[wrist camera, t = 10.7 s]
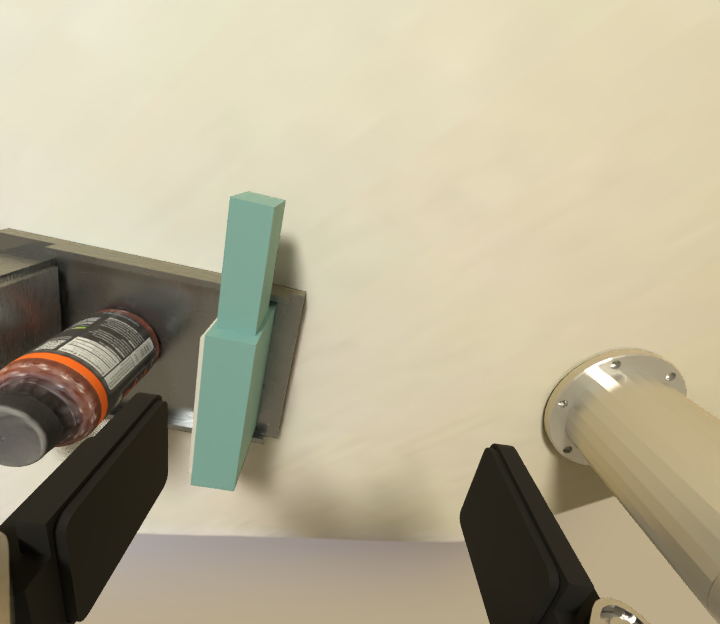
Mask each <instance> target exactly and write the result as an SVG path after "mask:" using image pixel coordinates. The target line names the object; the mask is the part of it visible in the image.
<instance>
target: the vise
mask: <svg viewBox="0 0 720 624" xmlns="http://www.w3.org/2000/svg"><path fill="white" fill-rule="evenodd" d="M221 278H222V274H221V273H216V272H212V271H207V270H202V269H198V268H193V267H188V266H184V265H179V264H174V263H170V262H165V261H160V260H155V259H151V258H146V257H141V256H137V255H132V254H127V253H123V252H118V251H113V250H109V249H104V248H99V247H94V246H90V245H85V244H80V243H76V242H71V241H66V240H62V239H57V238H52V237H48V236H43V235H38V234H33V233H29V232H24V231H19V230H15V229H10V228H8V229H3V230H0V370H1V369H3V368H4V367H5V366H7V365H8V364H10V363H11V362H13V361H14V360H16V359H18V358H19V357H21V356H22V355H24V354H26V353H28V352H29V351H31V350H32V349H34V348H36V347H38V346H39V345H41V344H42V343H44V342H46V341H47V340H49V339H51V338H52V337H54V336H56V335H57V334H59V333H61V332H62V331H64V330H66V329H67V328H69V327H71V326H73V325H74V324H76V323H77V322H79V321H81V320H82V319H84V318H86V317H87V316H89V315H92V314H94V313H96V312H99V311H101V310H106V309H119V310H125V311H128V312H131V313H133V314H135V315H137V316H139V317H141V318H142V319H143V320H145V321H146V322H147V323H148V324H149V325H150V326H151V328H152V329H153V330H154V332H155V334H156V336H157V339H158V342H159V349H160V351H159V355H158V358H157V360H156V362H155V364H154V365H153V366H152V368H151V369H150V370H149V372H148V373H147V374H146V375H145V376H144V377H143V378H142V379H141V380H140V381H139V382H138V383H137V384H136V385H135V386H134V387H133V389H131V391H130V392H129V393H128V394H127V395H126V396H125V397H124V398H123V399H122V400H121V402H120V403H119V404H118V405H117V406H116V407H115V408H114V409H113V410H112V411H111V412H110V413H109V414H108V416H107V417H106V418H105V419H112V418H113V417H114V416H115V415H116V414H117V413H118V412H119V411H120V410H121V408H122V407H123V406H124V405H125V404H126V403H127V402H128V401H129V400H130V399H131V398H132V397H133V396H134V395H135V394H136V393H138V392H142V393H149V394H156V395H160V396H161V397H162V401H166V402H167V404H168V429H173V430H180V431H186V432H192V425H193V414H194V403H195V391H196V380H197V369H198V358H199V347H200V337H201V336H202V335H203V334H204V333H205V331H206V330H207V329H208V328H209V327H210V325H211V324H212V323H213V322H214V321H215V319H216V318H217V315H218V306H219V297H220V287H221ZM305 294H306V291H301V290H296V289H292V288H287V287H282V286H277V285H273V284H272V289H271V295H270V301H269V302H272V303H276V309H275V315H274V321H273V327H272V333H271V339H270V345H269V351H268V357H267V363H266V369H265V375H264V381H263V387H262V393H261V399H260V405H259V411H258V417H257V423H256V428H255V430H254V433H253V436H252V439H251V442H254V443H260V444H264V441H265V437H266V436H268V437H274V438H277V435H278V431H279V427H280V422H281V417H282V411H283V406H284V401H285V396H286V391H287V386H288V381H289V376H290V371H291V366H292V361H293V355H294V350H295V345H296V340H297V335H298V330H299V325H300V320H301V315H302V310H303V305H304V300H305Z"/></svg>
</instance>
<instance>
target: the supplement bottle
mask: <svg viewBox="0 0 720 624" xmlns="http://www.w3.org/2000/svg"><path fill="white" fill-rule="evenodd" d="M159 351H160V349H159V342H158V339H157V336H156V334H155V332H154V330H153V329H152V328H151V326H150V325H149V324H148V323H147V322H146V321H145V320H143V319H142V318H141V317H139V316H137V315H135V314H133V313H131V312H128V311H125V310H119V309H106V310H101V311H99V312H96V313H94V314H92V315H89V316H87V317H86V318H84V319H82V320H81V321H79V322H77V323H76V324H74V325H73V326H71V327H69V328H67V329H66V330H64V331H62V332H61V333H59V334H57V335H56V336H54V337H52V338H51V339H49V340H47V341H46V342H44V343H42V344H41V345H39V346H38V347H36V348H34V349H32V350H31V351H29V352H28V353H26V354H24V355H22V356H21V357H19V358H18V359H16V360H14V361H13V362H11V363H10V364H8V365H7V366H5V367H4V368H3V369H1V370H0V464H1V465H4V466H11V467H21V466H27V465H30V464H33V463H35V462H37V461H38V460H40V459H41V458H42V457H43V456H44V455H45V454H46V453H48V452H49V451H50V450H51V449H53V448H54V447H60V446H66V445H71V444H73V443H76V442H78V441H80V440H82V439H83V438H85V437H86V436H88V435H89V434H90V433H91V432H92V431H93V430H94V429H95V428H96V427H97V426H98V425H99V424H100V423H101V421H102V420H104V419H105V418H106V417H107V416H108V414H109V413H110V412H111V411H112V410H113V409H114V408H115V407H116V406H117V405H118V404H119V403H120V402H121V400H122V399H123V398H124V397H125V396H126V395H127V394H128V393H129V392H130V391H131V389H133V387H134V386H135V385H136V384H137V383H138V382H139V381H140V380H141V379H142V378H143V377H144V376H145V375H146V374H147V373H148V372H149V370H150V369H151V368H152V366H153V365H154V364H155V362H156V360H157V358H158V355H159Z"/></svg>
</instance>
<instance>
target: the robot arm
mask: <svg viewBox="0 0 720 624" xmlns="http://www.w3.org/2000/svg"><path fill="white" fill-rule="evenodd" d="M686 395H687V390H686V385H685V381H684V379H683V377H682V375H681V373H680V372H679V371H678V370H677V369H676V368H675V366H674V365H672V364H671V363H669V362H668V361H666V360H665V359H663V358H662V357H660V356H658V355H655V354H653V353H651V352H647V351H642V350H627V349H626V350H619V351H612V352H609V353H605V354H602V355H599V356H597V357H594V358H592V359H590V360H588V361H586V362H584V363H583V364H581V365H580V366H578V367H577V368H575V369H574V370H572V371H571V372H570V373H569V374H568V375H567V376H566V377H565V378H564V379H563V380H562V381H561V382H560V383H559V385H558V386H557V387H556V388H555V390H554V391H553V393H552V395H551V397H550V398H549V401H548V403H547V406H546V409H545V416H544V424H545V431H546V433H547V436H548V438H549V440H550V441H551V443H552V444H553V446H554V447H555V449H556V450H557V451H558V452H559V453H560V454H561V455H562V456H564V457H565V458H567V459H568V460H570V461H572V462H575V463H578V464H581V465H587V466H591V467H592V468H593V469H594V471H595V472H596V473H597V474H598V476H599V477H600V478H601V479H602V481H603V482H604V483H605V484H606V485H607V487H608V488H609V489H610V490H611V492H612V493H613V494H614V495H615V497H616V498H617V499H618V500H619V502H620V503H621V504H622V505H623V507H624V508H625V509H626V510H627V511H628V513H629V514H630V515H631V516H632V518H633V519H634V520H635V521H636V523H637V524H638V525H639V526H640V528H641V529H642V530H643V531H644V532H645V534H646V535H647V536H648V537H649V539H650V540H651V541H652V543H653V544H654V545H655V546H656V548H657V549H658V550H659V551H660V553H661V554H662V555H663V556H664V557H665V558H666V560H667V561H668V562H669V564H670V565H671V566H672V567H673V569H674V570H675V571H676V572H677V573H678V575H679V576H680V577H681V579H682V580H683V581H684V582H685V584H686V585H687V586H688V587H689V589H690V590H691V591H692V592H693V594H694V595H695V596H696V597H697V598H698V600H699V601H700V602H701V603H702V605H703V606H704V607H705V608H706V609H707V611H708V612H709V613H710V614H711V616H712V617H713V618H714V619H715V620H716V621H717V623H718V624H720V420H719V419H718V418H716V417H715V416H713V415H712V414H710V413H709V412H707V411H706V410H705V409H703V408H702V407H700V406H699V405H697V404H696V403H694V402H693V401H691V400H690V399H689V398H687V397H686ZM167 476H168V404H167V402H166V401H162V397H161V396H160V395H156V394H149V393H142V392H138V393H136V394H135V395H134V396H133V397H132V398H131V399H130V400H129V401H128V402H127V403H126V404H125V405H124V406H123V407H122V408H121V410H120V411H119V412H118V413H117V414H116V415H115V416H114V417H113V418H112V419H111V420H110V421H109V422H108V423H107V424H106V425H105V426H104V427H103V428H102V429H101V430H100V431H99V432H98V433H97V434H96V435H95V436H94V437H90V438H87V439H86V440H85V441H84V442H82V443H81V444H80V445H79V446H78V447H77V448H76V449H75V450H74V451H73V452H72V453H71V454H70V455H69V456H68V457H67V459H66V460H65V461H64V462H63V463H62V464H61V465H60V466H59V467H58V468H57V469H56V470H55V471H54V472H53V473H52V474H51V475H50V476H49V477H48V478H47V479H46V480H45V481H44V482H43V483H42V484H41V485H40V486H39V487H38V488H37V489H36V490H35V491H34V492H33V493H32V494H31V495H30V496H29V497H28V498H27V499H26V500H25V501H24V502H23V503H22V504H21V505H20V506H19V507H18V508H17V509H16V510H15V511H14V512H13V513H12V514H11V515H10V516H9V517H8V518H7V519H6V520H5V521H4V522H3V523H2V524H1V525H0V624H74V623H75V622H76V621H78V622H81V621H83V620H84V618H86V616H87V615H88V613H89V612H90V610H91V609H92V607H93V605H94V604H95V602H96V600H97V598H98V597H99V595H100V593H101V592H102V590H103V588H104V587H105V585H106V583H107V581H108V580H109V578H110V576H111V575H112V573H113V571H114V570H115V568H116V566H117V565H118V563H119V562H120V560H121V558H122V557H123V555H124V553H125V551H126V550H127V548H128V546H129V545H130V543H131V541H132V540H133V538H134V536H135V535H136V533H137V531H138V530H139V528H140V526H141V525H142V523H143V521H144V520H145V518H146V516H147V515H148V513H149V511H150V509H151V508H152V506H153V504H154V503H155V501H156V499H157V498H158V496H159V494H160V493H161V491H162V489H163V488H164V486H165V483H166V480H167ZM460 524H461V528H462V531H463V535H464V538H465V542H466V545H467V548H468V552H469V555H470V558H471V562H472V565H473V568H474V572H475V575H476V579H477V582H478V585H479V589H480V592H481V595H482V599H483V602H484V605H485V609H486V612H487V616H488V619H489V622H490V624H650V623H649V622H648V621H647V620H646V619H645V618H644V617H643V616H641V615H640V614H639V613H638V612H637V611H635V610H634V609H633V608H632V607H630V606H628V605H626V604H625V603H623V602H621V601H618V600H615V599H612V598H599V596H598V594H597V592H596V591H595V589H594V586H593V584H592V582H591V581H590V579H589V577H588V575H587V573H586V572H585V570H584V568H583V567H582V565H581V563H580V561H579V559H578V558H577V556H576V554H575V552H574V551H573V549H572V547H571V545H570V544H569V542H568V540H567V538H566V537H565V535H564V533H563V531H562V530H561V528H560V526H559V524H558V523H557V521H556V519H555V517H554V516H553V514H552V512H551V510H550V509H549V507H548V505H547V503H546V502H545V500H544V498H543V496H542V495H541V493H540V491H539V489H538V488H537V486H536V484H535V482H534V481H533V479H532V477H531V475H530V474H529V472H528V470H527V468H526V467H525V465H524V463H523V461H522V460H521V458H520V456H519V454H518V453H517V451H516V449H515V448H514V447H513V446H508V445H501V444H492V445H491V446H490V448H486V449H485V450H484V453H483V455H482V458H481V460H480V463H479V465H478V468H477V470H476V473H475V476H474V478H473V481H472V483H471V486H470V488H469V491H468V493H467V496H466V499H465V501H464V504H463V506H462V509H461V512H460Z"/></svg>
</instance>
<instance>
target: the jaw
mask: <svg viewBox="0 0 720 624" xmlns="http://www.w3.org/2000/svg"><path fill="white" fill-rule="evenodd" d="M285 201H286V200H282V199H278V198H274V197H270V196H265V195H261V194H257V193H253V192H249V191H248V192H244V193H241V194H238V195H234V196H231V197H230V202H229V212H228V221H227V231H226V240H225V249H224V259H223V268H222V278H221V287H220V297H219V306H218V315H217V318H216V319H215V321H214V322H213V323H212V324H211V325H210V327H209V328H208V329H207V330H206V331H205V333H204V334H203V335H202V336H201V337H200V347H199V358H198V369H197V380H196V391H195V403H194V414H193V425H192V436H191V447H190V458H189V470H188V473H189V474H192V477H191V485H194V486H201V487H208V488H215V489H222V490H229V491H234V489H235V486H236V483H237V480H238V477H239V474H240V471H241V469H242V466H243V463H244V460H245V457H246V454H247V451H248V448H249V445H250V442H251V439H252V436H253V433H254V430H255V428H256V423H257V417H258V411H259V405H260V399H261V393H262V387H263V381H264V375H265V369H266V363H267V357H268V351H269V345H270V339H271V333H272V327H273V321H274V315H275V309H276V303H272V302H269V301H270V295H271V289H272V283H273V276H274V270H275V264H276V257H277V251H278V245H279V239H280V232H281V226H282V220H283V214H284V207H285Z"/></svg>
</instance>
